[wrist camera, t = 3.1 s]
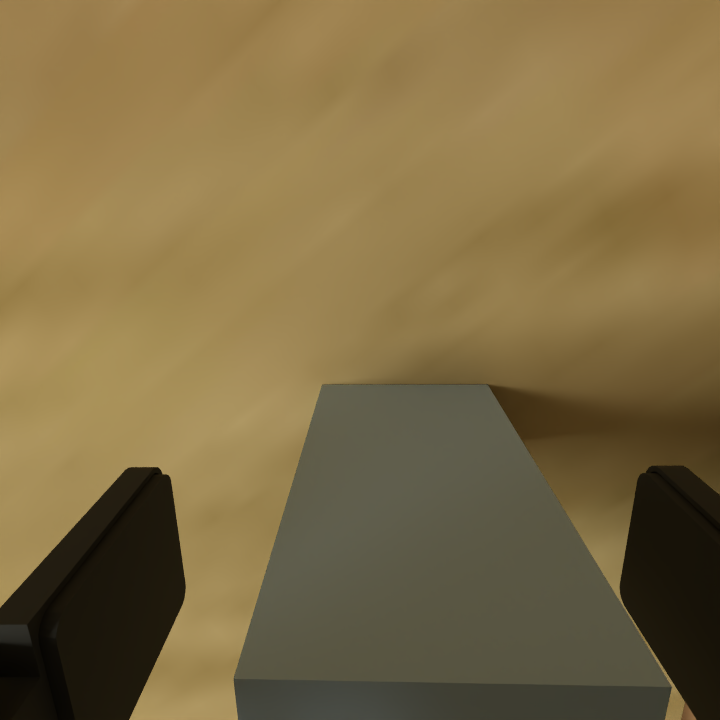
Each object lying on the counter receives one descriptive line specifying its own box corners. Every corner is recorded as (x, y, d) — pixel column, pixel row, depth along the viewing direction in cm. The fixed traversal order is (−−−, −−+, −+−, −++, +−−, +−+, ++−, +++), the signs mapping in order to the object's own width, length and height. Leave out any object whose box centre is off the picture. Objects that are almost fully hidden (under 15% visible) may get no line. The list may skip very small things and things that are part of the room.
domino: (321, 384, 15) (232, 678, 6) (487, 384, 15) (672, 687, 6) (324, 444, 16) (246, 798, 6) (483, 444, 16) (644, 809, 6)
